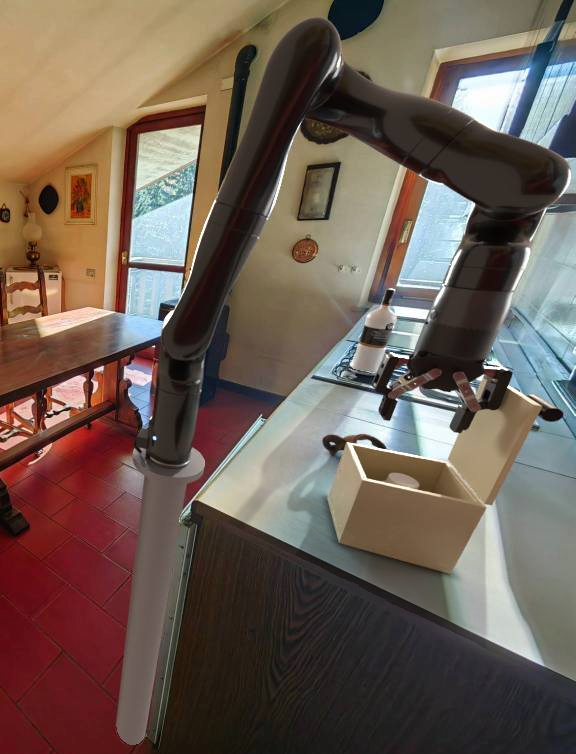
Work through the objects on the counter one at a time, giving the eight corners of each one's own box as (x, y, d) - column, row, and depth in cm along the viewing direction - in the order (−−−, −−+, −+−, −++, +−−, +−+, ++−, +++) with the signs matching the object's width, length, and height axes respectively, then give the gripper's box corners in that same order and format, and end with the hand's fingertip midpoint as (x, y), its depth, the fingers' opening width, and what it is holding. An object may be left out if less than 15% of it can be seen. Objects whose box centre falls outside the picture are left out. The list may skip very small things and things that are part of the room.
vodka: (365, 367, 147) (392, 286, 135) (385, 376, 138) (416, 291, 127) (342, 367, 146) (367, 286, 135) (360, 376, 138) (389, 291, 126)
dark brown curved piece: (366, 455, 91) (392, 438, 84) (367, 490, 85) (395, 475, 79) (313, 435, 93) (334, 417, 87) (310, 467, 88) (333, 451, 81)
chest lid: (534, 405, 49) (593, 412, 47) (484, 373, 59) (531, 378, 57) (484, 504, 55) (535, 514, 53) (447, 458, 65) (488, 466, 63)
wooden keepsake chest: (338, 543, 65) (362, 479, 60) (327, 498, 76) (346, 441, 71) (450, 574, 59) (486, 507, 55) (421, 521, 70) (449, 461, 65)
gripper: (517, 321, 54) (467, 424, 60) (391, 310, 59) (358, 405, 66) (551, 333, 48) (492, 447, 54) (407, 320, 53) (368, 424, 59)
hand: (418, 424), depth 60 cm, fingers open, 8 cm apart
